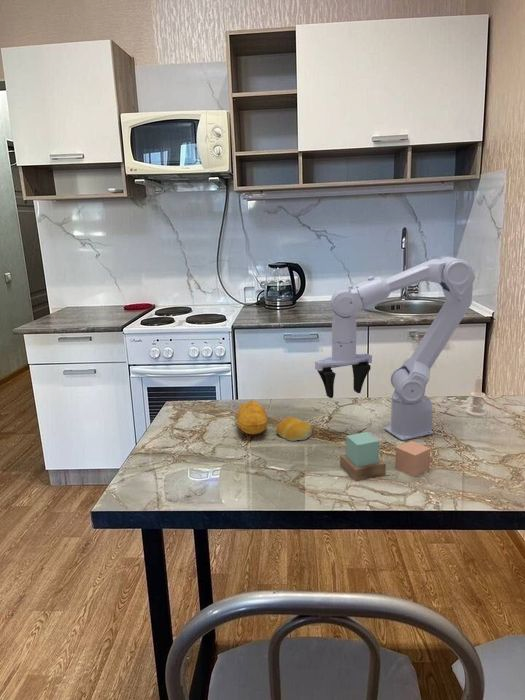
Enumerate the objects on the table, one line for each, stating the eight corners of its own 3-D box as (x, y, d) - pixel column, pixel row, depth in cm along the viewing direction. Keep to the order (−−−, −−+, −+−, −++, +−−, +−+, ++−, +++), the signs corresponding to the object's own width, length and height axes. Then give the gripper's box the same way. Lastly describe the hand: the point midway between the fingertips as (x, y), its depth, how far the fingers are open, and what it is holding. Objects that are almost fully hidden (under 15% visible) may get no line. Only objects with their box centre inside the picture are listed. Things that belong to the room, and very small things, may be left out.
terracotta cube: (410, 461, 115) (411, 440, 114) (429, 469, 111) (430, 448, 110) (395, 468, 112) (396, 447, 111) (414, 477, 109) (415, 455, 107)
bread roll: (296, 445, 126) (295, 430, 125) (271, 434, 132) (270, 419, 131) (319, 435, 131) (319, 420, 130) (294, 425, 137) (294, 410, 136)
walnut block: (368, 462, 116) (368, 449, 116) (385, 476, 110) (385, 463, 109) (340, 467, 114) (340, 455, 114) (355, 482, 108) (355, 469, 107)
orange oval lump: (264, 419, 141) (263, 395, 140) (270, 440, 128) (269, 414, 126) (235, 421, 141) (234, 397, 139) (239, 443, 127) (238, 417, 126)
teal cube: (366, 453, 114) (367, 431, 113) (378, 462, 110) (379, 441, 108) (346, 457, 113) (346, 435, 111) (357, 467, 108) (357, 445, 107)
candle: (463, 409, 143) (466, 373, 140) (483, 409, 142) (486, 373, 139) (468, 416, 138) (471, 379, 135) (489, 417, 137) (492, 379, 134)
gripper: (361, 333, 130) (360, 385, 134) (309, 340, 125) (309, 393, 129) (377, 339, 124) (376, 393, 127) (322, 347, 119) (323, 403, 122)
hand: (343, 394), depth 128 cm, fingers open, 7 cm apart
